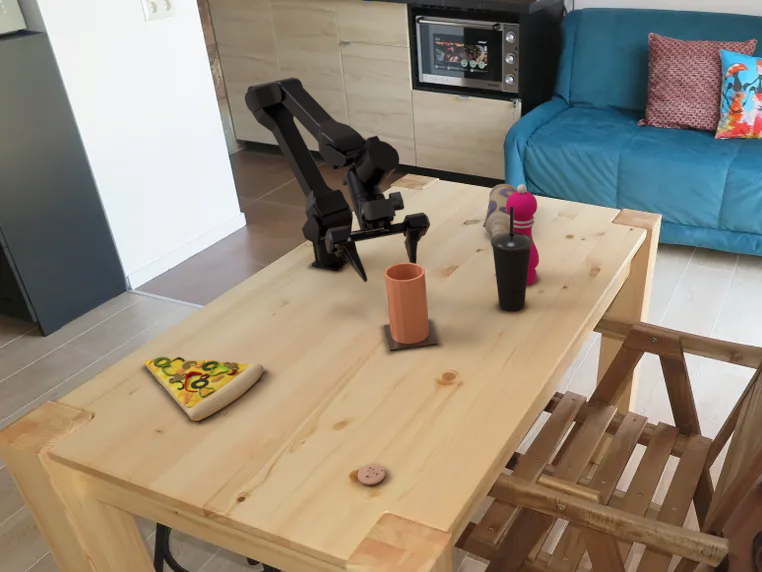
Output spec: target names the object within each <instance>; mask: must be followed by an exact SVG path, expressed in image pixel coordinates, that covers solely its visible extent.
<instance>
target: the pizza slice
mask: <svg viewBox="0 0 762 572" xmlns="http://www.w3.org/2000/svg"><path fill="white" fill-rule="evenodd" d="M143 364H144V365H145V366H146V368H147V370H148V371H149V372H151V374H152V375H153V376H154V377H155V378H156V380H157V382H159V384H160V385H162V386H163V388H164V389H165V390H166V392H167V393H168V394H169V396H171V398H172V399H173V400H174V401H175V402H176V403H177V404H178V405H179V406H180V408H181V409H182V410H183V411H184V412H185V413H186V414H187V416H188V417H189V418H190V420H192V421H194V422H198V421H199V422H200V421H201V420H203V419H205V418H207V417H210V416H212V415H213V414H215V413H218V411H220V410H221V409H224V408H225V407H226V406H228V405H229V404H231V403H233V402H235V400H237V399H238V398H239V397H242V395H244V394H245V393H246V392H247V391H248V390H249V389H250V388H251V387H252V386H253V385H254V384H255V383H256V382H257V381H258V380H259V379H260V378H261V376H262V375H263V372H264V370H265V369H264V366H263V364H261V363H258V362H254V363H239V362H236V361H235V362H230V361H225V362H224V361H217V360H201V359H199V360H192V359H191V360H190V359H189V360H188V359H184V358H183V357H181V356H177V357H176V358H172V357H166V356H159V357H157V358H153V359H149V360H148V359H147V360H143Z"/></svg>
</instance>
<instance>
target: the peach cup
mask: <svg viewBox="0 0 762 572" xmlns="http://www.w3.org/2000/svg"><path fill="white" fill-rule="evenodd" d="M383 275H384V285H385V293H386V302H387V311H388V320H389V325H390V331H391V336H392V338H393V339H394V340H395V341H397V342H399V343H403V344H413V343H418V342H421V341H423V340H425V339H426V338H427V337H428V335H429V321H428V320H429V310H428V309H429V308H428V295H427V283H426V282H427V281H426V270H425V268H424V267H423V266H422V265H421V264H418V263H416V264H414V263H410V262H400V263H394V264H392V265H389V266H388V267H386V269H385V270H384V274H383Z"/></svg>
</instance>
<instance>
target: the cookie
mask: <svg viewBox="0 0 762 572" xmlns="http://www.w3.org/2000/svg"><path fill="white" fill-rule="evenodd" d="M385 476H386V470H385V468H384V467H383V466H382V465H379V464H374V463H373V464H367V465H365V466H363V467H362V468H360V469H359V471H358V472H357V479H358V481H359V482H360V483H361V484H363V485H367V486H371V485H377V484H378V483H380V482H381V481H383V480H384V478H385Z"/></svg>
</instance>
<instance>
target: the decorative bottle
mask: <svg viewBox="0 0 762 572" xmlns="http://www.w3.org/2000/svg"><path fill="white" fill-rule="evenodd" d="M514 192H517V188H516V187H515V186H513V185H511V184H508V183H500V184H496V185H495V186H494V187H492V188H491V190H490V192H489V197H488V198H489V199H488V205H487V209H486V213H485V214H486V215H485V219H484V222H483V224H482V227H483V228H484V229H485V231H486V232H487V234H488V235H489V236H490V237H494V236H495V235H497V234H500V233H504V232H510V224H509V216H510V214H509V213H508V212H507V209H506V202H507V199H508V197H509V196H510V195H511V194H512V193H514Z"/></svg>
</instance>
